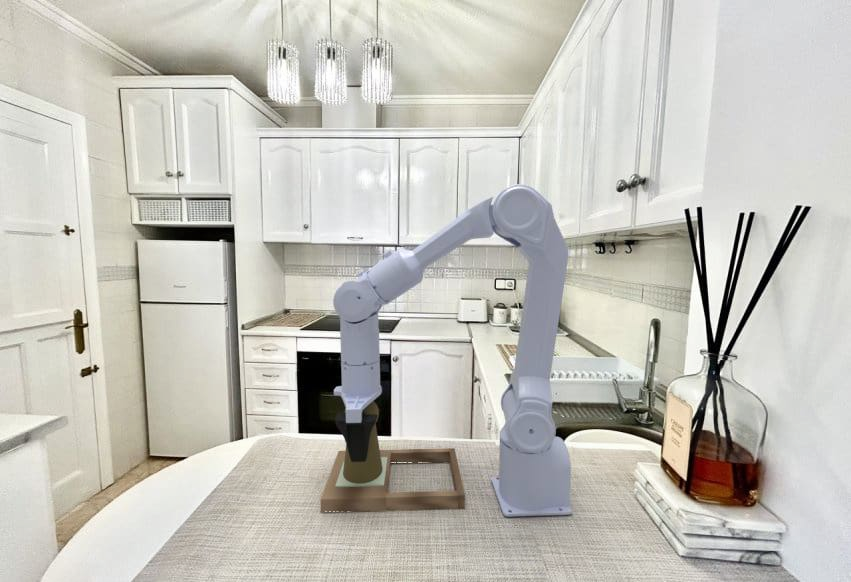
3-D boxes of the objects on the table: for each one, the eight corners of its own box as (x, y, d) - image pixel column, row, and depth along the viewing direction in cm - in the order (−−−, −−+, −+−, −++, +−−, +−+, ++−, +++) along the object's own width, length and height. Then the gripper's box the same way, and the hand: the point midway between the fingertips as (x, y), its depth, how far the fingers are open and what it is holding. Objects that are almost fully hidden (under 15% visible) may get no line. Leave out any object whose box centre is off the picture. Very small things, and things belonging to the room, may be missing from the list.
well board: (454, 459, 61) (454, 447, 60) (464, 508, 49) (464, 493, 49) (339, 462, 60) (338, 449, 60) (320, 512, 48) (320, 498, 48)
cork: (376, 485, 50) (375, 412, 49) (336, 482, 51) (334, 410, 50) (386, 461, 56) (385, 395, 55) (350, 458, 57) (349, 393, 56)
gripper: (343, 347, 59) (345, 423, 61) (321, 376, 45) (324, 476, 46) (384, 347, 60) (386, 423, 61) (375, 376, 45) (377, 474, 46)
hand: (362, 445), depth 54 cm, fingers open, 7 cm apart
